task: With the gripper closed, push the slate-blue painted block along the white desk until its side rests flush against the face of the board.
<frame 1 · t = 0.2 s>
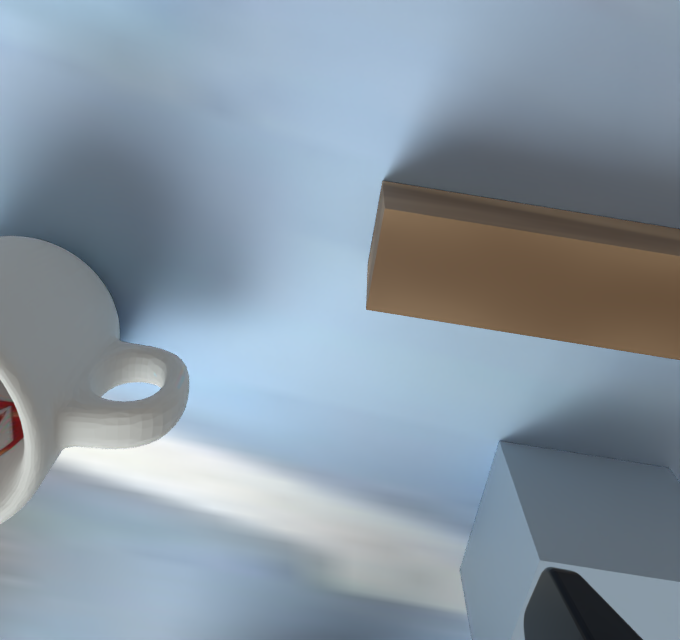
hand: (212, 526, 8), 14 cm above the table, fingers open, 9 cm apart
cup: (84, 316, 23), on the table
block: (558, 519, 25), on the table
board: (654, 268, 21), on the table
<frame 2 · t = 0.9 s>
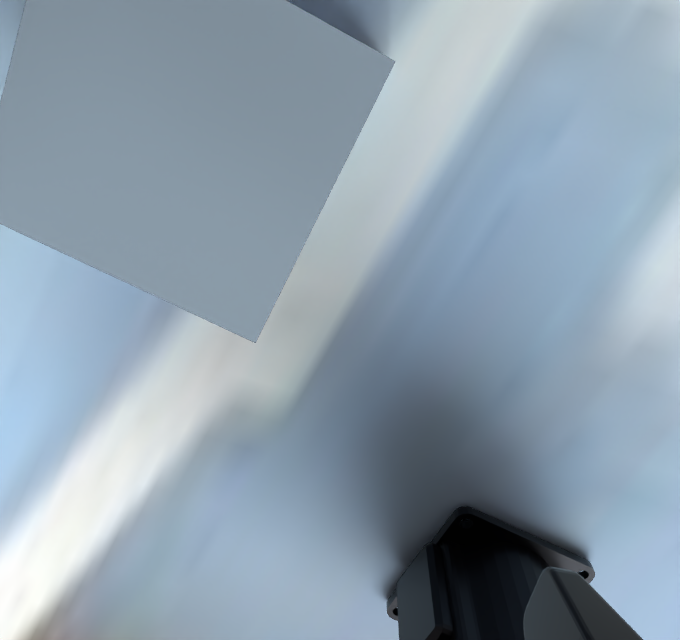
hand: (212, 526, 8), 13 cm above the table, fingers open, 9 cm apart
block: (234, 117, 19), on the table
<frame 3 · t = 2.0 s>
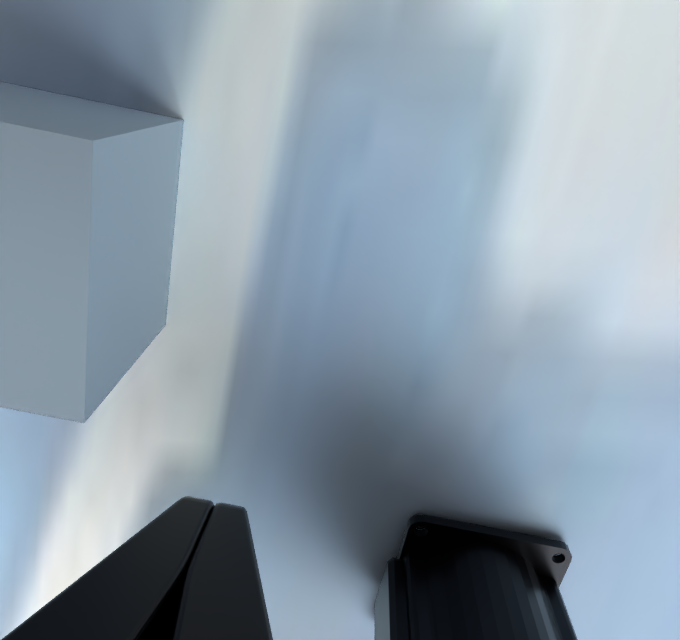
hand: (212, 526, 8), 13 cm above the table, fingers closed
block: (70, 207, 20), on the table
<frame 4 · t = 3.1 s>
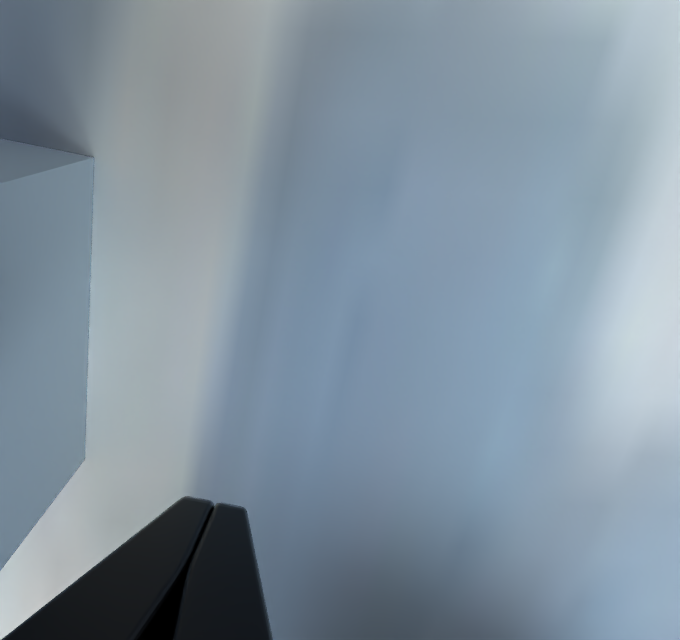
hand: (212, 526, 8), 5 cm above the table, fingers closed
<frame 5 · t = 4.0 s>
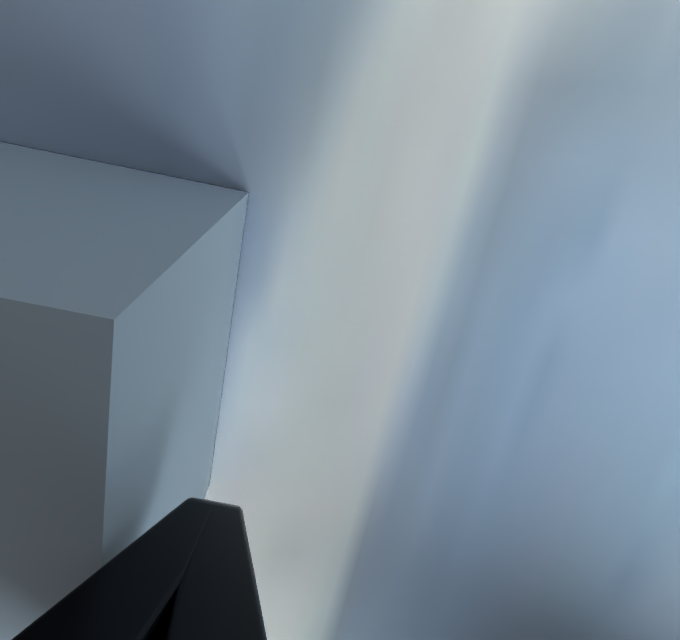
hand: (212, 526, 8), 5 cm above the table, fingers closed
block: (64, 322, 13), on the table, touching gripper
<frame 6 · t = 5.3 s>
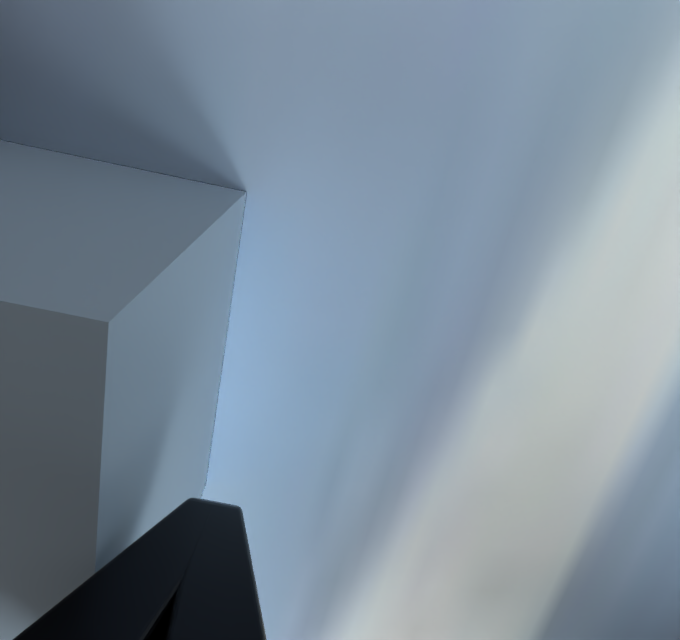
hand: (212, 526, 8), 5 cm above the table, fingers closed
block: (60, 321, 12), on the table, touching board, gripper
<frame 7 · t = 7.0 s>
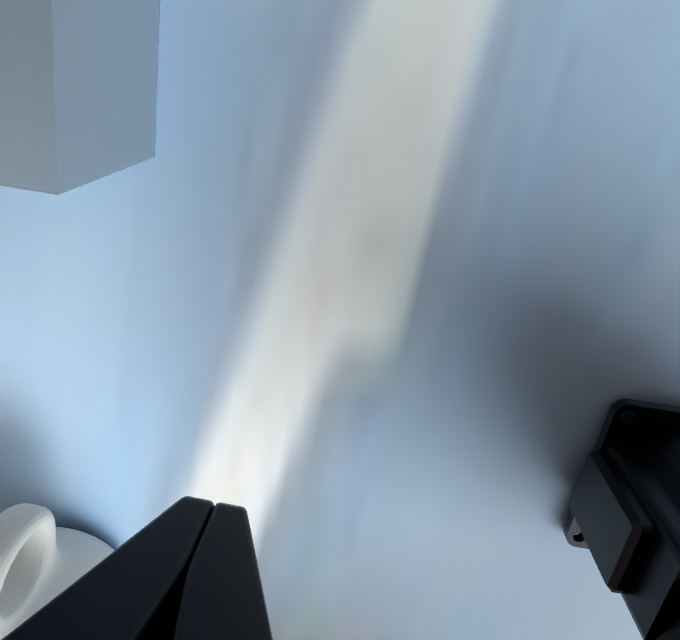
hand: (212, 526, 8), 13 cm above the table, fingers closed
cup: (73, 545, 25), on the table
block: (42, 16, 17), on the table
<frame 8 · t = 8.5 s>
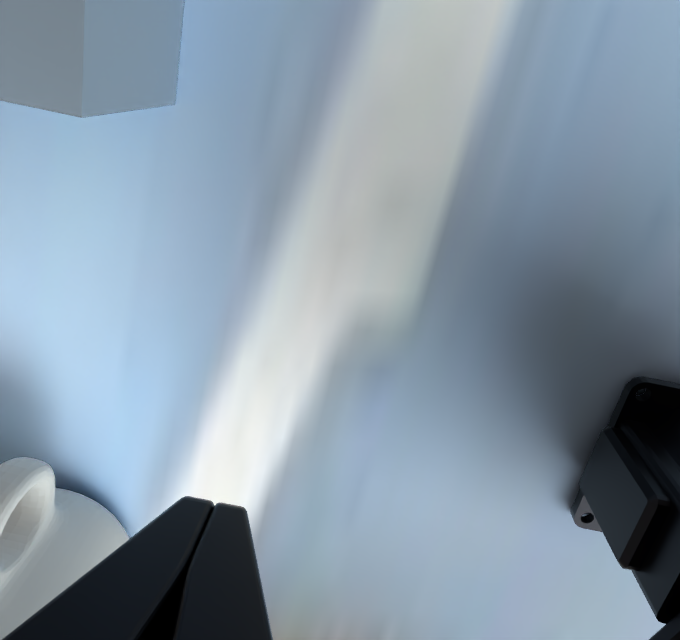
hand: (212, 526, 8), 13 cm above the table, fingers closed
cup: (70, 509, 25), on the table
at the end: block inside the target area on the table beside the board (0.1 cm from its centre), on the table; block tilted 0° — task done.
